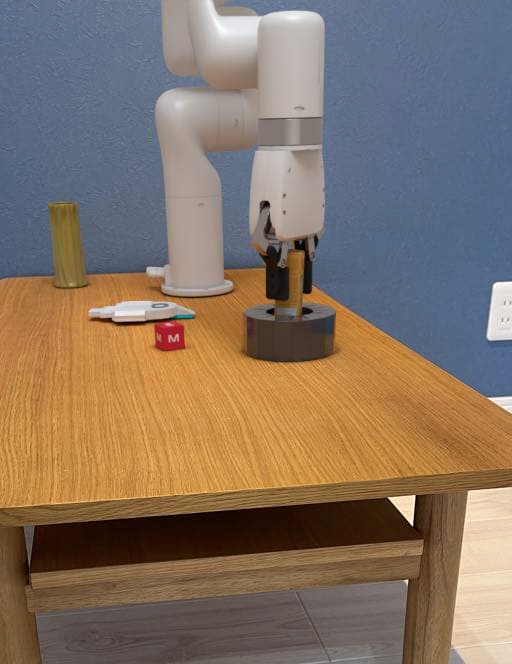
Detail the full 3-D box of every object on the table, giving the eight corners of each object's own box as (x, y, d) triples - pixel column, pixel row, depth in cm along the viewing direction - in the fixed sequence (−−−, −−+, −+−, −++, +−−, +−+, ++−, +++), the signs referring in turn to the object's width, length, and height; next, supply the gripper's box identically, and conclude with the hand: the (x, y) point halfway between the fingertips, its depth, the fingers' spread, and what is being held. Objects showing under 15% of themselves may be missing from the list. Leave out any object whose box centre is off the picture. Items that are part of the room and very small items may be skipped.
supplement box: (300, 335, 108) (301, 252, 103) (273, 334, 108) (273, 252, 104) (304, 329, 111) (304, 248, 106) (277, 328, 111) (277, 248, 107)
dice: (185, 348, 113) (183, 325, 112) (164, 351, 112) (162, 328, 110) (176, 343, 115) (174, 321, 114) (155, 346, 114) (153, 323, 113)
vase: (95, 283, 159) (87, 201, 152) (72, 289, 154) (63, 205, 148) (70, 281, 162) (61, 201, 155) (47, 286, 157) (38, 204, 151)
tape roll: (236, 360, 106) (235, 320, 104) (253, 338, 117) (252, 301, 114) (329, 363, 104) (330, 321, 102) (338, 340, 114) (339, 302, 112)
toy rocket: (84, 326, 126) (83, 311, 125) (96, 313, 135) (94, 298, 134) (192, 324, 125) (192, 308, 124) (197, 311, 134) (196, 296, 133)
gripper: (304, 133, 107) (302, 283, 115) (219, 139, 96) (224, 304, 104) (355, 133, 103) (349, 288, 111) (273, 139, 91) (273, 311, 100)
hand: (289, 294), depth 107 cm, fingers closed on supplement box, 4 cm apart
